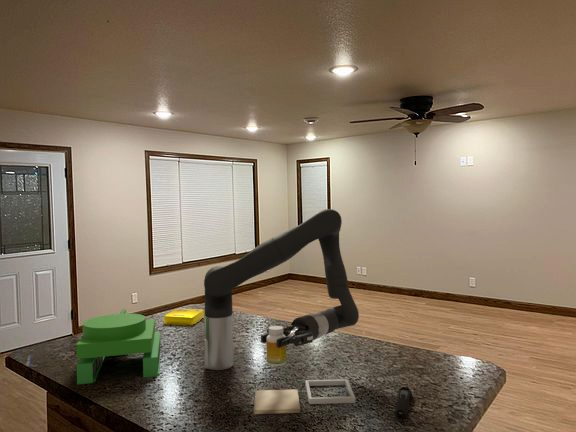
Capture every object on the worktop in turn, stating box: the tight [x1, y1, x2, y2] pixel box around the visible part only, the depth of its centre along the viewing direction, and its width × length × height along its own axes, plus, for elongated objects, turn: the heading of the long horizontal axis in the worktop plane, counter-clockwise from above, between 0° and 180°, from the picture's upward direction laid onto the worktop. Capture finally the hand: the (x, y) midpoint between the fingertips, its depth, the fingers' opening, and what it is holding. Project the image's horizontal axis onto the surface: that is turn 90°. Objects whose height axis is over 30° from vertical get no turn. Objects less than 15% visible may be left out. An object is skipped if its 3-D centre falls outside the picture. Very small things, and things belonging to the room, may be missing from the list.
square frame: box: [304, 378, 356, 405], centre depth 124 cm, size 13×13×1 cm
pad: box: [253, 388, 301, 415], centre depth 118 cm, size 12×12×1 cm
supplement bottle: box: [266, 325, 288, 367], centre depth 118 cm, size 5×5×10 cm
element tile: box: [163, 307, 205, 326], centre depth 205 cm, size 15×15×5 cm
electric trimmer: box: [394, 386, 413, 417], centre depth 116 cm, size 4×16×3 cm, turn 160°
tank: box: [75, 308, 162, 385], centre depth 152 cm, size 24×35×16 cm
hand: (269, 341), depth 116 cm, fingers closed on supplement bottle, 5 cm apart
